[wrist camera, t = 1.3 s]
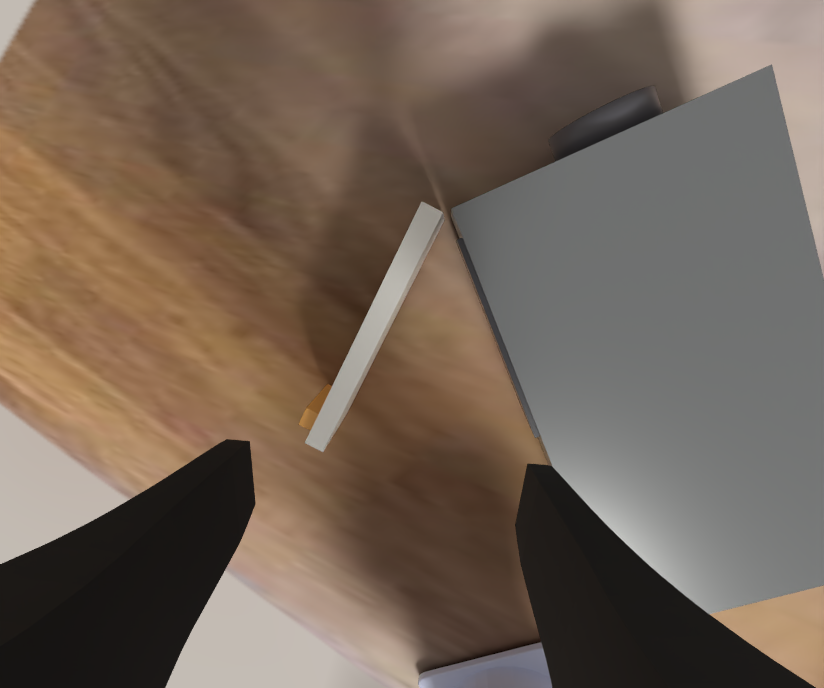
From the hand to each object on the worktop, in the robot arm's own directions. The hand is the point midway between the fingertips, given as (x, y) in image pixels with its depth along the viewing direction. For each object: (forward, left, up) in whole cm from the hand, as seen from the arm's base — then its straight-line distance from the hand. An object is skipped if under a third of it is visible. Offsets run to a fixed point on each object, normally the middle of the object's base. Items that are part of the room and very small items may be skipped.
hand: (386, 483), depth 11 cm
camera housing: (-3, -9, -9) cm, 14 cm away
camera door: (+3, 0, -9) cm, 10 cm away
